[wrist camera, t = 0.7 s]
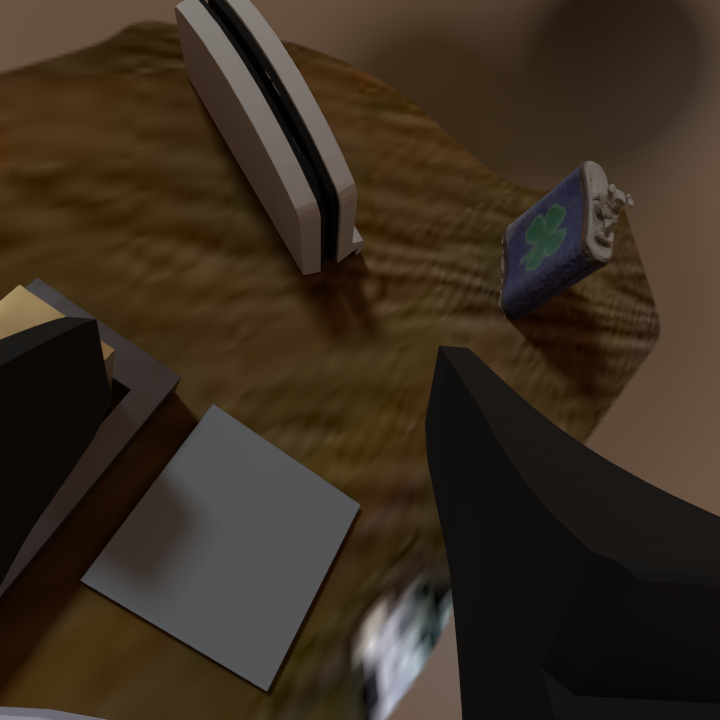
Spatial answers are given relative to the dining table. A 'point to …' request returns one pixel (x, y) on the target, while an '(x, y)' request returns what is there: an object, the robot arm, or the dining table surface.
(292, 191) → the grey rounded block
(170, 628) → the mat
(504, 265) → the flask
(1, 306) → the tan rectangular block
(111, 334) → the double cubby frame
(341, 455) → the dining table surface
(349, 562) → the dining table surface
